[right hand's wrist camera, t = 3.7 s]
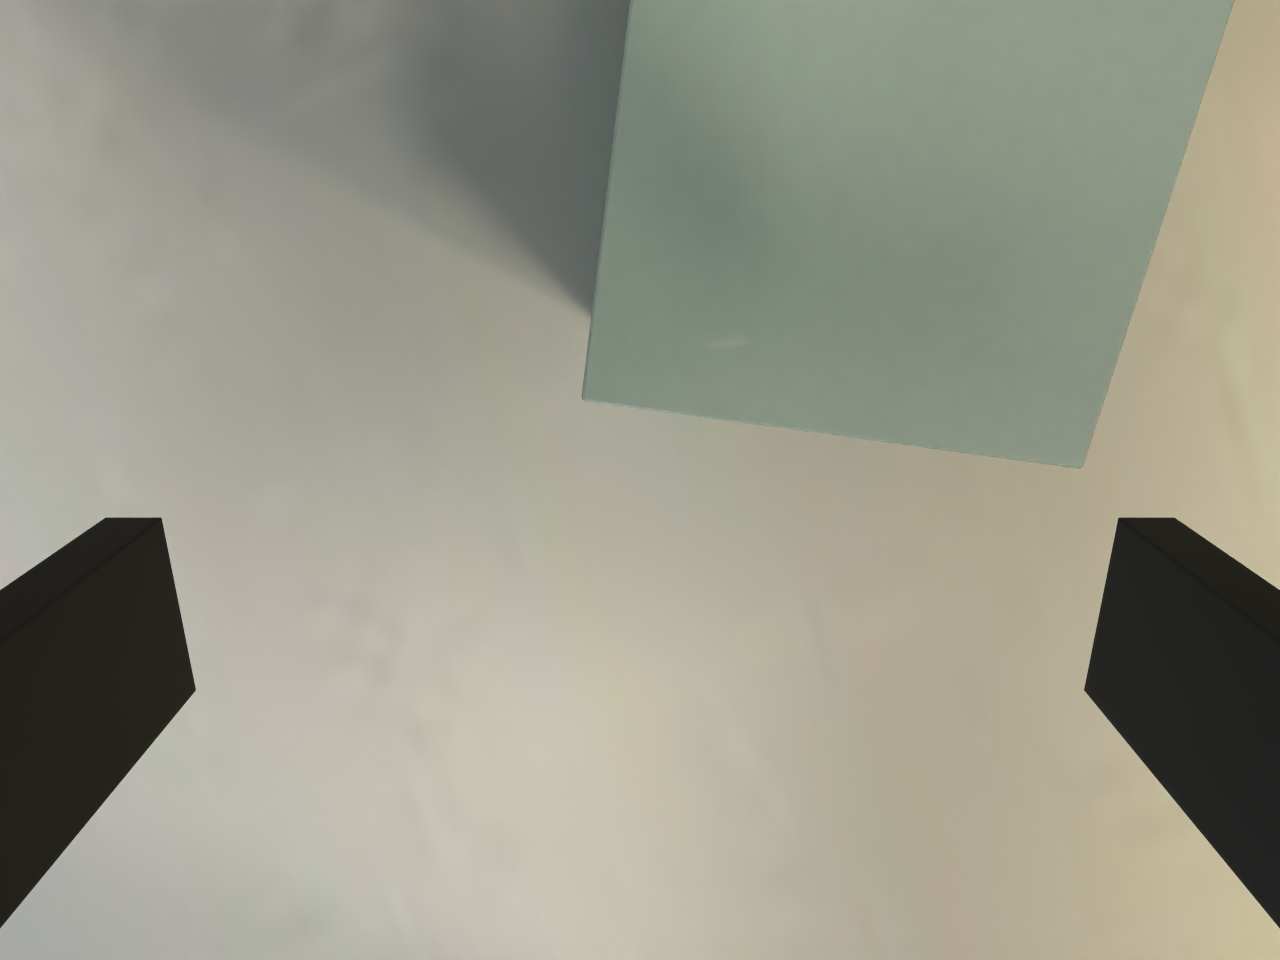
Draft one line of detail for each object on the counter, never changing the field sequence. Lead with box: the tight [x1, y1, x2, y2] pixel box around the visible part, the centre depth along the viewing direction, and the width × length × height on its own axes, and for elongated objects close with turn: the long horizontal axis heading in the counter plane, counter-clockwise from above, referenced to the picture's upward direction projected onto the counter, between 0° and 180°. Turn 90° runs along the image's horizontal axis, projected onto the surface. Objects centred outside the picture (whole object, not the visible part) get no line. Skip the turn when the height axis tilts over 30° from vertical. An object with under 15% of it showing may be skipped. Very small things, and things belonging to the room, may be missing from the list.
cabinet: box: [582, 0, 1234, 468], centre depth 21 cm, size 18×11×10 cm, turn 172°
